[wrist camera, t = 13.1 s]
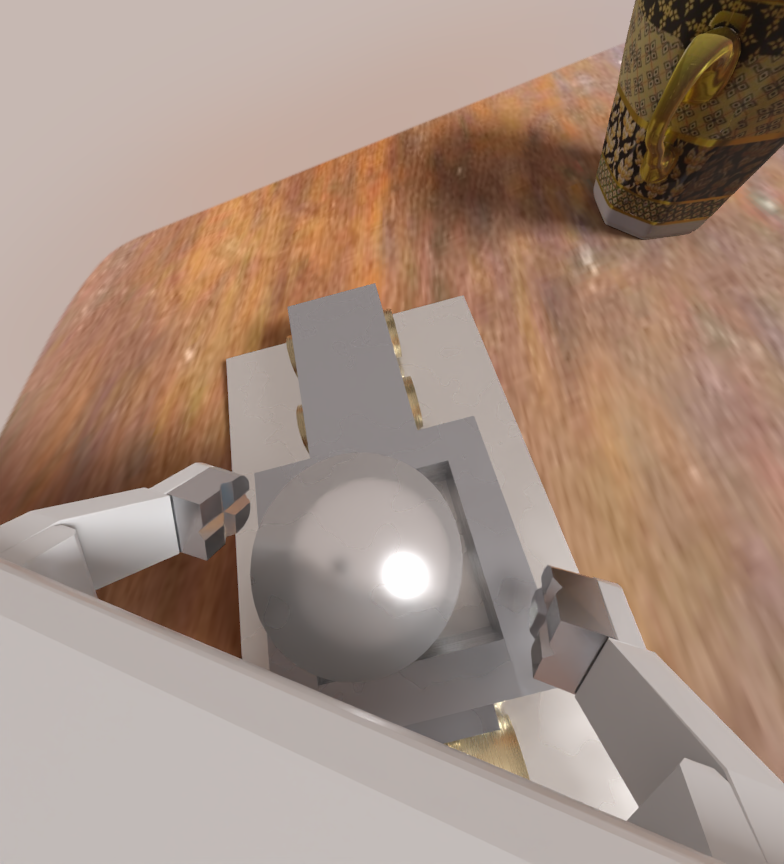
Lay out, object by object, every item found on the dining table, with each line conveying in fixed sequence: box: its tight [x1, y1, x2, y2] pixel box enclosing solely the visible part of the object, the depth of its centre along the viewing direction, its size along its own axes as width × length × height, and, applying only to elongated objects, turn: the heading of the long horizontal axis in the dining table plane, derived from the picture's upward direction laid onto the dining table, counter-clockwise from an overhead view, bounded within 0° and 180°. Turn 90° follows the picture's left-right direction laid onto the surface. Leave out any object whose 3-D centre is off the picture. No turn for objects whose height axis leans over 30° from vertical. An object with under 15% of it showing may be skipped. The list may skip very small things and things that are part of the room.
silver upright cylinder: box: [250, 452, 463, 683], centre depth 11 cm, size 4×4×9 cm
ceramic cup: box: [593, 0, 784, 239], centre depth 17 cm, size 13×10×10 cm
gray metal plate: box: [226, 283, 639, 821], centre depth 14 cm, size 14×26×4 cm, turn 14°
